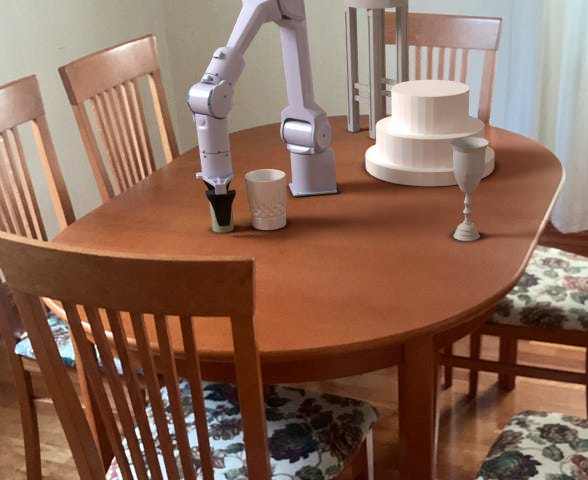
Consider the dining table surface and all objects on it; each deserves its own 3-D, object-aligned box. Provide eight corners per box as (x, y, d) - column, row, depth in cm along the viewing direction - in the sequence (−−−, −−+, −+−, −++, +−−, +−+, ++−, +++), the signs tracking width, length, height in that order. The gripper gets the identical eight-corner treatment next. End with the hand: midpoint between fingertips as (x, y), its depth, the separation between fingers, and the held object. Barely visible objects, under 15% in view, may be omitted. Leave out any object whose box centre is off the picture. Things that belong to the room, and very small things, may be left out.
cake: (512, 179, 205) (517, 98, 196) (382, 191, 199) (380, 108, 190) (471, 143, 230) (473, 70, 221) (354, 153, 224) (351, 77, 215)
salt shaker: (233, 224, 183) (229, 187, 179) (235, 231, 179) (231, 194, 175) (211, 226, 182) (207, 189, 178) (213, 233, 179) (208, 196, 175)
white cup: (297, 222, 184) (293, 173, 178) (272, 234, 178) (268, 184, 173) (266, 215, 187) (262, 166, 182) (241, 227, 182) (236, 177, 176)
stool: (382, 120, 251) (380, -20, 233) (419, 131, 241) (420, -14, 223) (337, 130, 242) (331, -14, 224) (373, 142, 232) (370, -8, 214)
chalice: (473, 245, 172) (476, 150, 163) (441, 238, 175) (443, 144, 166) (491, 233, 177) (495, 140, 168) (460, 226, 181) (462, 135, 171)
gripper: (191, 140, 178) (199, 208, 185) (195, 162, 166) (204, 233, 173) (228, 138, 179) (235, 205, 186) (234, 159, 167) (241, 230, 174)
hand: (222, 218), depth 180 cm, fingers open, 7 cm apart
